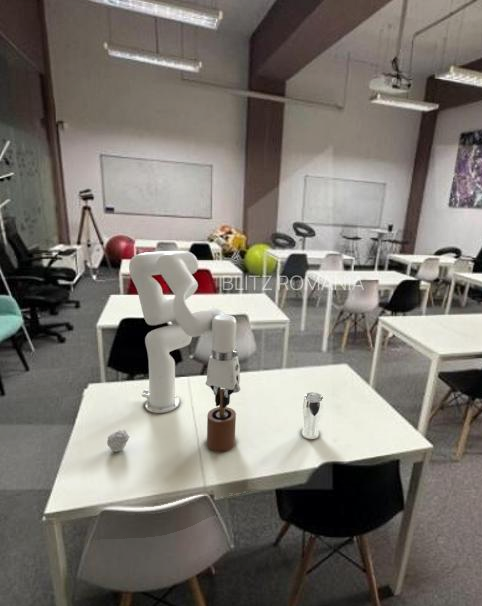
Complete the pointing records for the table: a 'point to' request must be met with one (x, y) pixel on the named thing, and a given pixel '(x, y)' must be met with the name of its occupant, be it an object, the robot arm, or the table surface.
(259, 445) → the table surface
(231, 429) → the cylindrical holder
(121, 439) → the grey crumpled ball
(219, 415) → the brush
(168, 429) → the table surface
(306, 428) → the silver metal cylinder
